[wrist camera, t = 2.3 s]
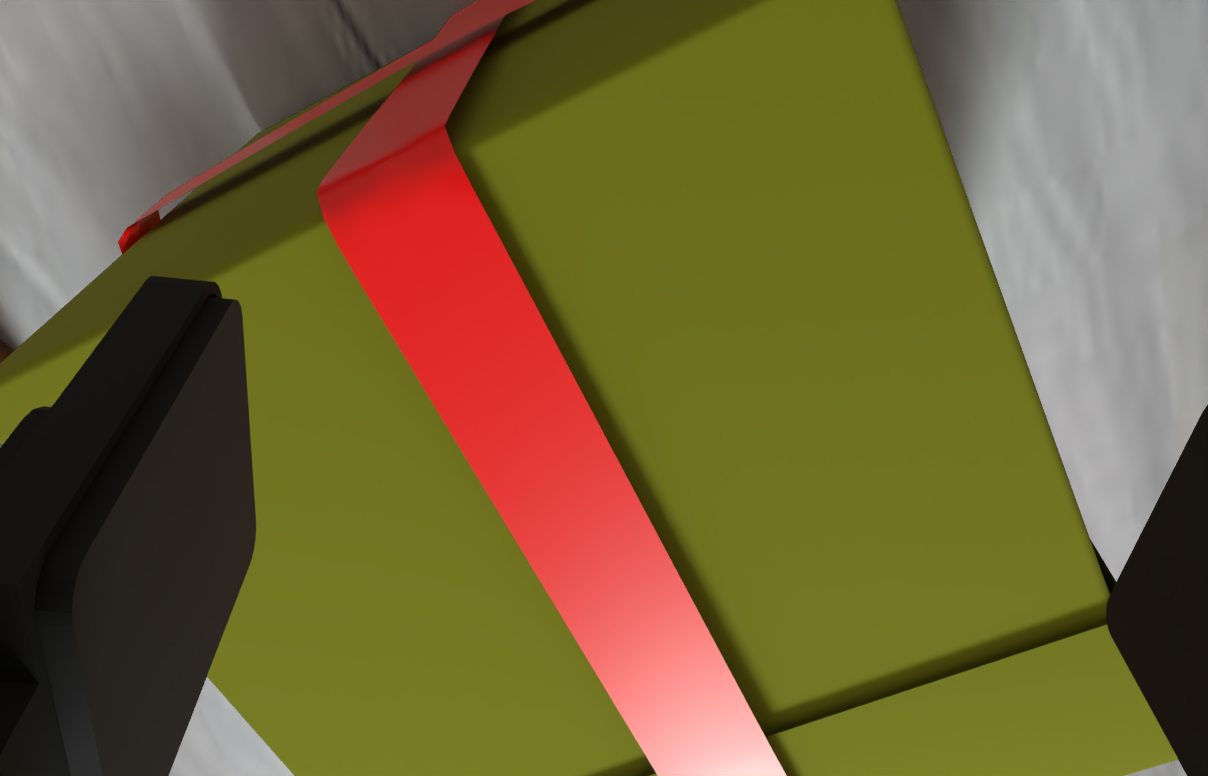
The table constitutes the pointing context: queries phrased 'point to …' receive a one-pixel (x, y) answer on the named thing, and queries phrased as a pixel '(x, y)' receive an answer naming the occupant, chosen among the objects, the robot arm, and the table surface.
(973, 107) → the table surface
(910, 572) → the gift box
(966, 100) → the table surface
